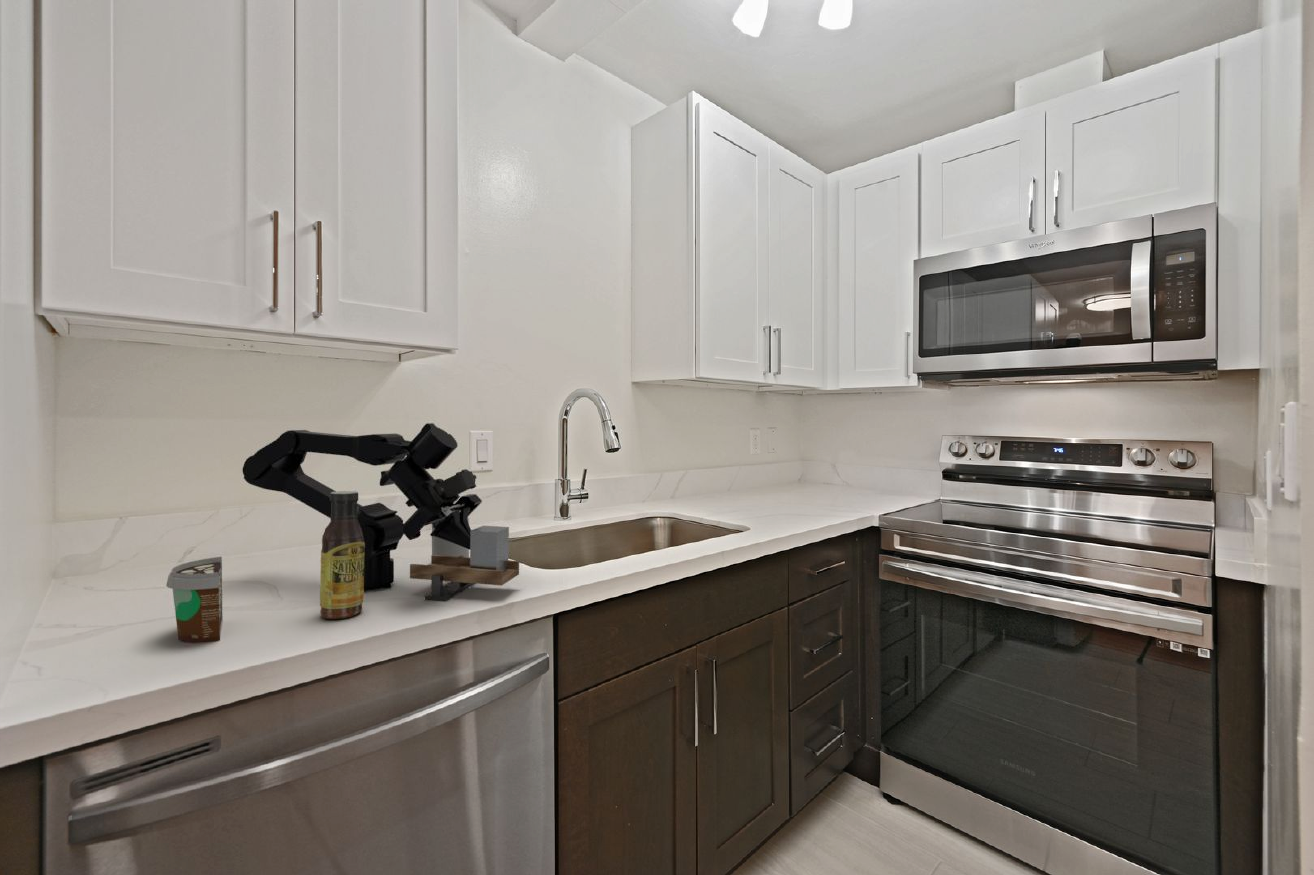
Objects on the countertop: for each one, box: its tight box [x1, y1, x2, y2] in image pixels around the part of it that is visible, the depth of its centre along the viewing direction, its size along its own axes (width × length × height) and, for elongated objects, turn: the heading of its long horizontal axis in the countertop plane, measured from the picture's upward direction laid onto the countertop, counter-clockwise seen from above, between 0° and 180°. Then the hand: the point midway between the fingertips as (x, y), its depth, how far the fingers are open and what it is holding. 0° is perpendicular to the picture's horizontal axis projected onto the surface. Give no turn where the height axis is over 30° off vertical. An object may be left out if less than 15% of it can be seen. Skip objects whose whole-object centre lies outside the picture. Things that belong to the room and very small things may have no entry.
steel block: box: [469, 525, 510, 573], centre depth 105 cm, size 5×5×8 cm
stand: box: [424, 574, 476, 602], centre depth 106 cm, size 4×11×4 cm, turn 170°
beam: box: [409, 554, 520, 586], centre depth 105 cm, size 18×8×3 cm, turn 80°
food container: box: [165, 556, 224, 644], centre depth 84 cm, size 12×6×10 cm, turn 35°
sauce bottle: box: [319, 490, 365, 620], centre depth 93 cm, size 6×6×20 cm
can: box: [431, 517, 470, 558], centre depth 124 cm, size 8×8×12 cm
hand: (475, 548), depth 105 cm, fingers closed, pressing on steel block
